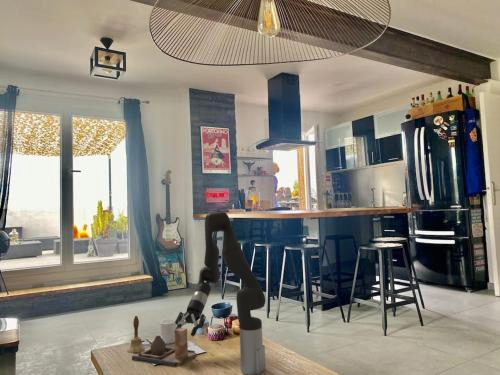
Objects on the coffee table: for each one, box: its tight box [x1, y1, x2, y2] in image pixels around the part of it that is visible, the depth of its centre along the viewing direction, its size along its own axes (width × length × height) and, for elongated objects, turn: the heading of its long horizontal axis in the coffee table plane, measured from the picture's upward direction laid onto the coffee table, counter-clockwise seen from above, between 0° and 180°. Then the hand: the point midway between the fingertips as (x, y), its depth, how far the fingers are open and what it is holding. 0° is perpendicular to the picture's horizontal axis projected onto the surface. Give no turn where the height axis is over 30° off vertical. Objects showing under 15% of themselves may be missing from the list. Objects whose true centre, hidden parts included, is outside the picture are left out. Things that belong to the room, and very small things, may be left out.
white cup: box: [160, 319, 177, 345], centre depth 195 cm, size 8×8×10 cm
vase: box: [150, 335, 167, 356], centre depth 175 cm, size 7×7×9 cm
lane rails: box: [131, 349, 196, 368], centre depth 173 cm, size 24×15×2 cm, turn 64°
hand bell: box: [127, 315, 146, 354], centre depth 185 cm, size 8×8×16 cm
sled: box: [138, 327, 198, 366], centre depth 173 cm, size 23×12×13 cm, turn 64°
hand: (184, 334), depth 172 cm, fingers open, 8 cm apart
